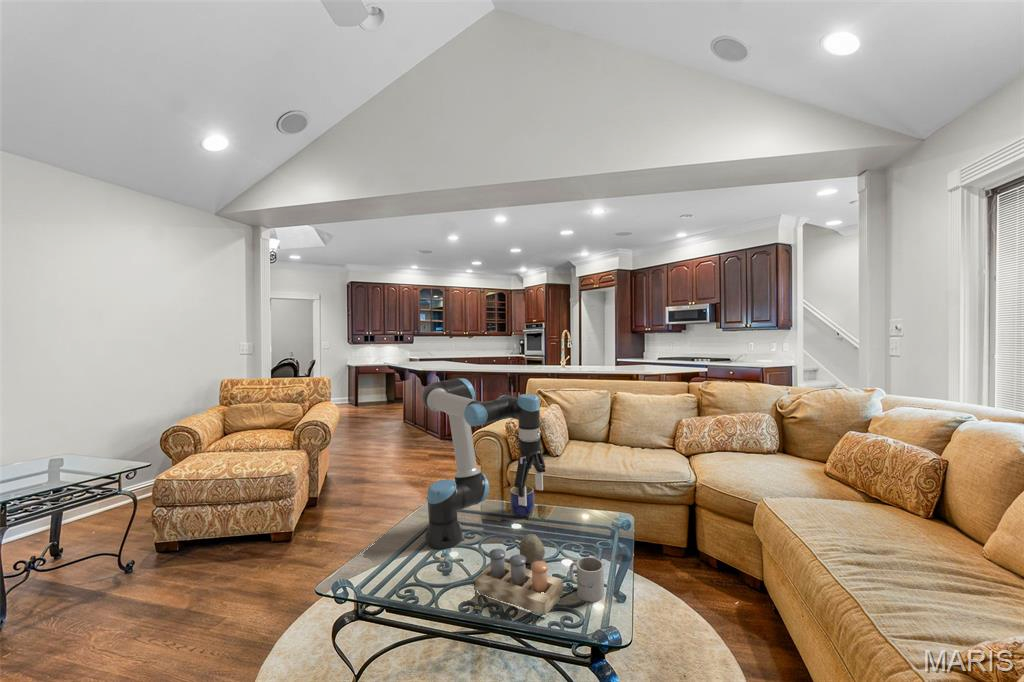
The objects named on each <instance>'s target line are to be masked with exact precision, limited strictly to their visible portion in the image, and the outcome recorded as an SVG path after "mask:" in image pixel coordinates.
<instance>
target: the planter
mask: <svg viewBox="0 0 1024 682" xmlns="http://www.w3.org/2000/svg"><path fill="white" fill-rule="evenodd" d="M525 487H526V499H527V505H526V506H523V505H519V500H518V488H517V487H514V486H513V487H511V488H510V489H509V501H510V509H511V511H512V513H513V514H514V515H515V516H516V517H520V518H524V517H528V516H530V515H531V514H532V513H533V511H534V508H535V491H534V490H535V489H534V487H532V486H530V485H526V484H525Z"/></svg>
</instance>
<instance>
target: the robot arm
mask: <svg viewBox="0 0 1024 682" xmlns="http://www.w3.org/2000/svg"><path fill="white" fill-rule="evenodd" d="M475 398H476V393H475V389H474V386H473V385H472V383H471V381H469V380H468V379H467V378H454V379H446V380H440V381H434V382H432V383H429V384H428V385H427V386H426V387H425V388H424V389H423V391H422V393H421V403H422V404H423V406H424V407H425V408H426V409H427V410H428V411H432V412H436V413H437V412H442V413H443V412H444V413H445V414H446V415H448V419H449V425H450V432H451V438H452V446H453V451H454V458H455V466H456V472H455V474H454V477H453V478H454V479H451V478H450V479H449V478H446V479H440V480H439V479H438V480H437V481H434V482H433V483H432V484H430V486H429V487H428V489H427V494H426V495H427V497H426V499H427V500H426V501H427V511H428V525H427V529H426V533H425V544H426V543H427V544H428V545H427V544H426V545H427V546H428V547H429V548H432V549H440V550H441V549H448V548H452V547H455V546H457V545H458V544H460V543H461V542H462V540H463V539H464V538H463V537H464V536H463V530H462V527H461V525H460V522H459V519H458V511H460V510H464V509H466V508H469V507H471V506H474V505H479V504H480V503H482V502H484V501H485V500H486V499H487V497H488V495H489V494H490V493H489V492H490V482H489V479H487V476H486V475H485V474H484V473H482V470H481V469H480V468H479V467H478V466H477V464H478V463H477V458H476V451H475V446H474V440H473V432H472V427H477V426H478V427H479V426H483V425H487V424H490V423H494V422H499V421H502V420H506V419H512V420H513V419H515V420H518V439H519V440H518V449H519V450H520V451H521V452H522V457H520V456H519V457H518V458H517V468H516V474H515V480H514V485H513V487H517V488H518V500H519V505H523V506H526V505H527V499H526V487H525V485H526V483H527V479H528V476H529V471H530V470H531V469H532V466H533V467H534V469H535V473H534V475H535V476H534V481H535V490H538V491H543V490H544V479H543V478H544V475H543V473H546V463H545V460H544V456H543V453H542V447H541V439H540V438H541V433H542V431H541V428H540V427H541V420H540V417H541V415H540V414H541V413H540V412H541V411H540V409H541V406H540V398H539V396H538V395H536V394H533V393H523V394H520V395H518V396H517V397H516V396H515V397H514V396H512V395H508V394H507V395H499V396H498V397H497V398H496V399H493V400H487V401H480V400H476V399H475Z"/></svg>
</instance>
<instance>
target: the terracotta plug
mask: <svg viewBox="0 0 1024 682" xmlns="http://www.w3.org/2000/svg"><path fill="white" fill-rule="evenodd" d="M548 569H549V565H548V563H547V562H545V561H543V560H541V561H535V562H533V563H532V564H530V570H532V585H533V589H534V590H536V591H544V590H546V589H547V587H548V585H547V575H548Z"/></svg>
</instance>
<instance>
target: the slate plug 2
mask: <svg viewBox="0 0 1024 682" xmlns="http://www.w3.org/2000/svg"><path fill="white" fill-rule="evenodd" d="M509 563H510V564H511V581H512V582H513V583H515V584H522V583H524V582H525V581H526V572H525V568H526V564H527V563H526V558H525V556H523V555H520V554H514V555H511V556H510V557H509Z"/></svg>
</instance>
